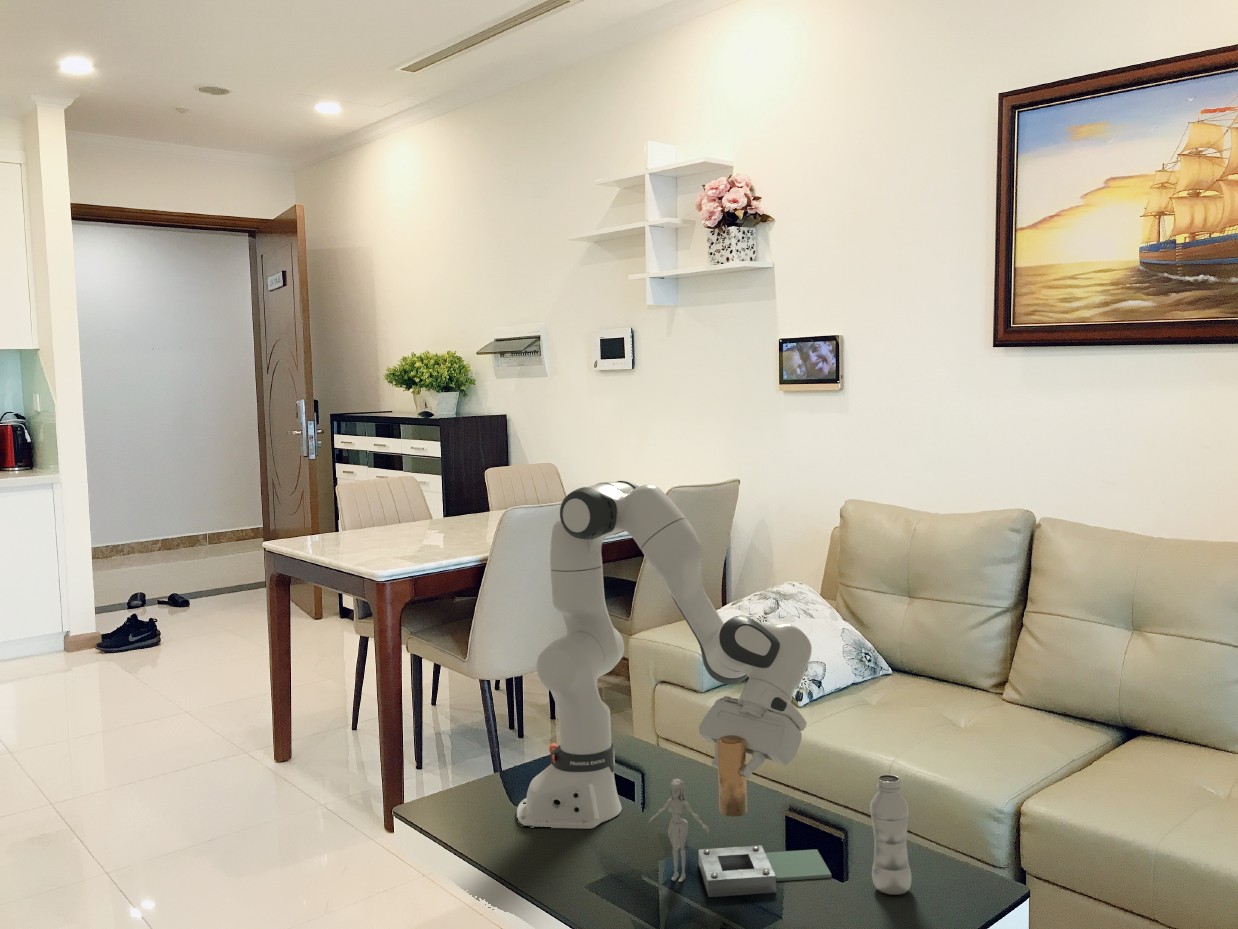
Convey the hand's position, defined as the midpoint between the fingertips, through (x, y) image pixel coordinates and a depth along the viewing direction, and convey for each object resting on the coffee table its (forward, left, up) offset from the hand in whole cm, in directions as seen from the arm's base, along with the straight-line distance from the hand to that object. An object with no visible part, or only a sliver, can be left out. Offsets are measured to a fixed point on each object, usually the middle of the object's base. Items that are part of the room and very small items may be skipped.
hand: (729, 771), depth 174 cm
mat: (+13, +3, -20) cm, 24 cm away
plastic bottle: (+27, -8, -20) cm, 34 cm away
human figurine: (-9, +2, -20) cm, 22 cm away
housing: (+1, 0, -20) cm, 20 cm away
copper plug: (0, 0, -7) cm, 7 cm away
